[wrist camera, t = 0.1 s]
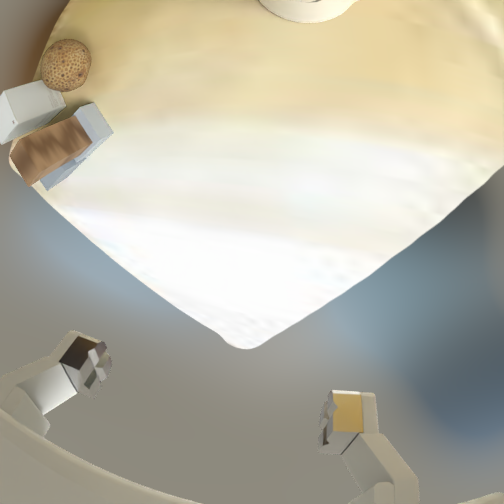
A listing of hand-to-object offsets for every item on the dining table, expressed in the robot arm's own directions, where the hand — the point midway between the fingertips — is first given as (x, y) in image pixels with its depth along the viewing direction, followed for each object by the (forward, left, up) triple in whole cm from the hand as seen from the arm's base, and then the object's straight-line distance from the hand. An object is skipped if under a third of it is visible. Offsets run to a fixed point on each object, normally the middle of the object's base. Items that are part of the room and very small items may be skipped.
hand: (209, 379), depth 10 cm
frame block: (+1, -34, -35) cm, 49 cm away
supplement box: (-5, -45, -39) cm, 60 cm away
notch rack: (+4, -38, -39) cm, 54 cm away
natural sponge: (-11, -35, -39) cm, 54 cm away
